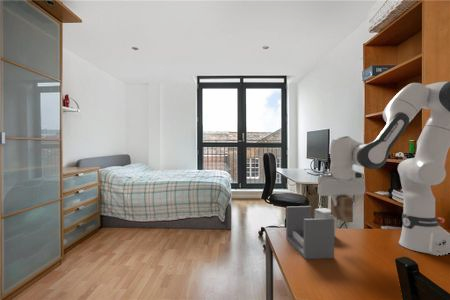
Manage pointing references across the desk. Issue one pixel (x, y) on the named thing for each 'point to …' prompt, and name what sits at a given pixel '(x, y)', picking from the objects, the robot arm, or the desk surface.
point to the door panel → (343, 208)
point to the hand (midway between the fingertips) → (341, 205)
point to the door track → (309, 233)
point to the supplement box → (325, 216)
